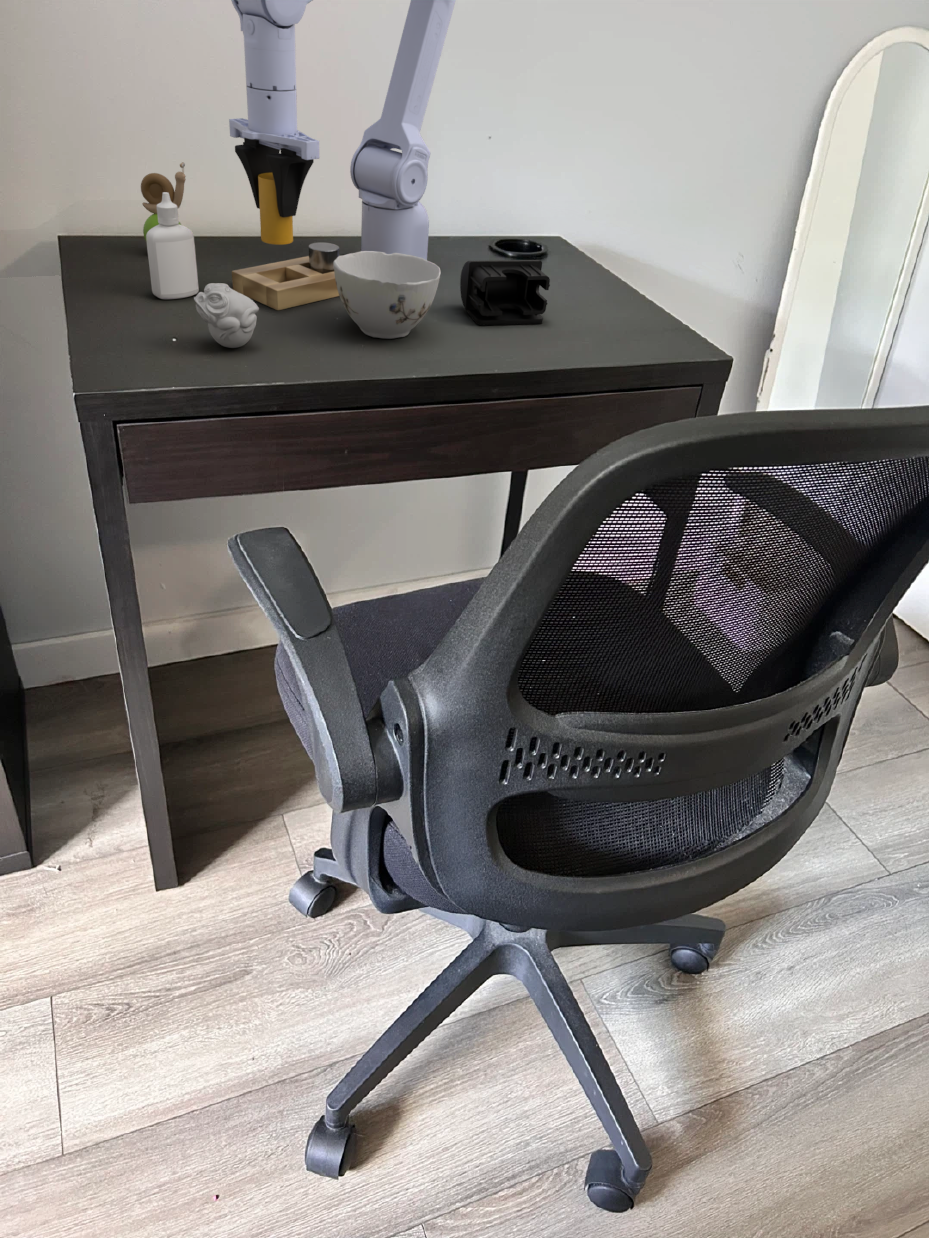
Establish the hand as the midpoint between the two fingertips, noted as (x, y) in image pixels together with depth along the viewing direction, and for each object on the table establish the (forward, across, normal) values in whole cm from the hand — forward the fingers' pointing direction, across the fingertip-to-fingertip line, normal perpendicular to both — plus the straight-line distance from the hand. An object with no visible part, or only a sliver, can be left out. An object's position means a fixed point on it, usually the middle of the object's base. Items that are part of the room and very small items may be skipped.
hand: (275, 211), depth 115 cm
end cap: (+10, +23, +18) cm, 31 cm away
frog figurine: (+10, +12, -17) cm, 23 cm away
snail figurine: (+10, -21, -3) cm, 23 cm away
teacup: (+10, +17, +2) cm, 20 cm away
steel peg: (+10, +1, +7) cm, 12 cm away
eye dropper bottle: (+10, -6, -12) cm, 16 cm away
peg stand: (+10, +1, +3) cm, 11 cm away
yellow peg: (+3, 0, 0) cm, 3 cm away
